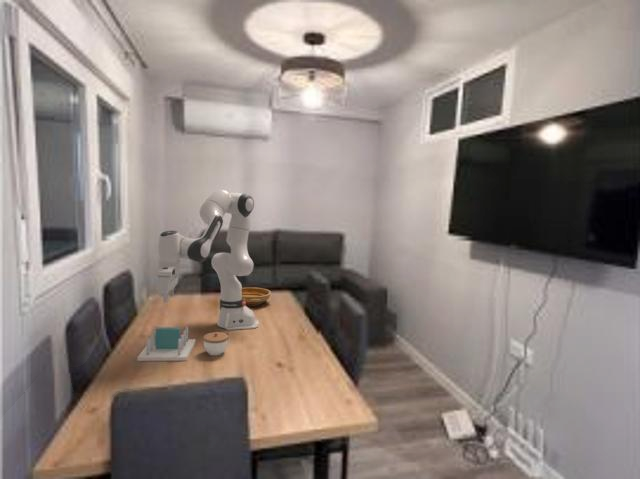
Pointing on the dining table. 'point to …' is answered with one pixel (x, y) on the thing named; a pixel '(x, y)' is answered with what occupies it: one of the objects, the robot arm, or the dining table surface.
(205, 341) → the lidded jar
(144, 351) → the dish rack
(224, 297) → the robot arm
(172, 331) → the teal tile
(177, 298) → the dining table surface
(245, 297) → the brown woven oval bowl
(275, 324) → the dining table surface
